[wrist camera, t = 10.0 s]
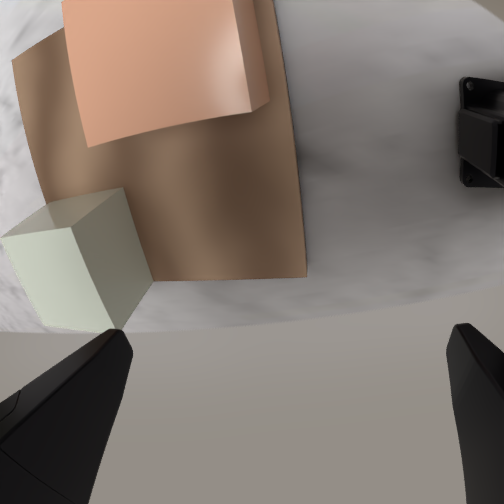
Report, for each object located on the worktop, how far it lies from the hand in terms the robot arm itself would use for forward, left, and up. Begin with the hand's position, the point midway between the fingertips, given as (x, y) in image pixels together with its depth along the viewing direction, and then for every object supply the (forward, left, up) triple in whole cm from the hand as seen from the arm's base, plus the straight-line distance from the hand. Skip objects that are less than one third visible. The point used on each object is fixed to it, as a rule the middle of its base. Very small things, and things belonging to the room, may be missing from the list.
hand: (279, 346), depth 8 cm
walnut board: (+9, -4, -12) cm, 15 cm away
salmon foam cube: (+4, -9, -11) cm, 15 cm away
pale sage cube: (+14, +2, -11) cm, 18 cm away
